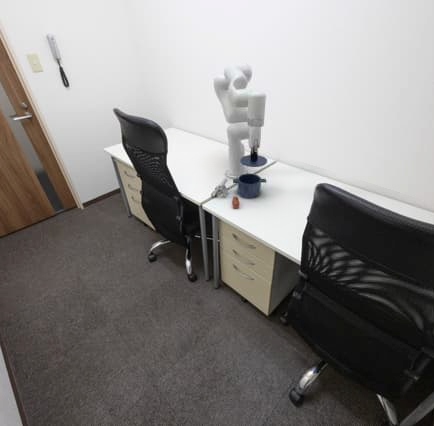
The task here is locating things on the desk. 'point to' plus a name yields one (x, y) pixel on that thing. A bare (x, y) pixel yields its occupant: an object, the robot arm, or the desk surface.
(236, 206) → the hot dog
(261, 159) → the lid
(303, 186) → the desk surface
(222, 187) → the tablet stand
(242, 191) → the pot
